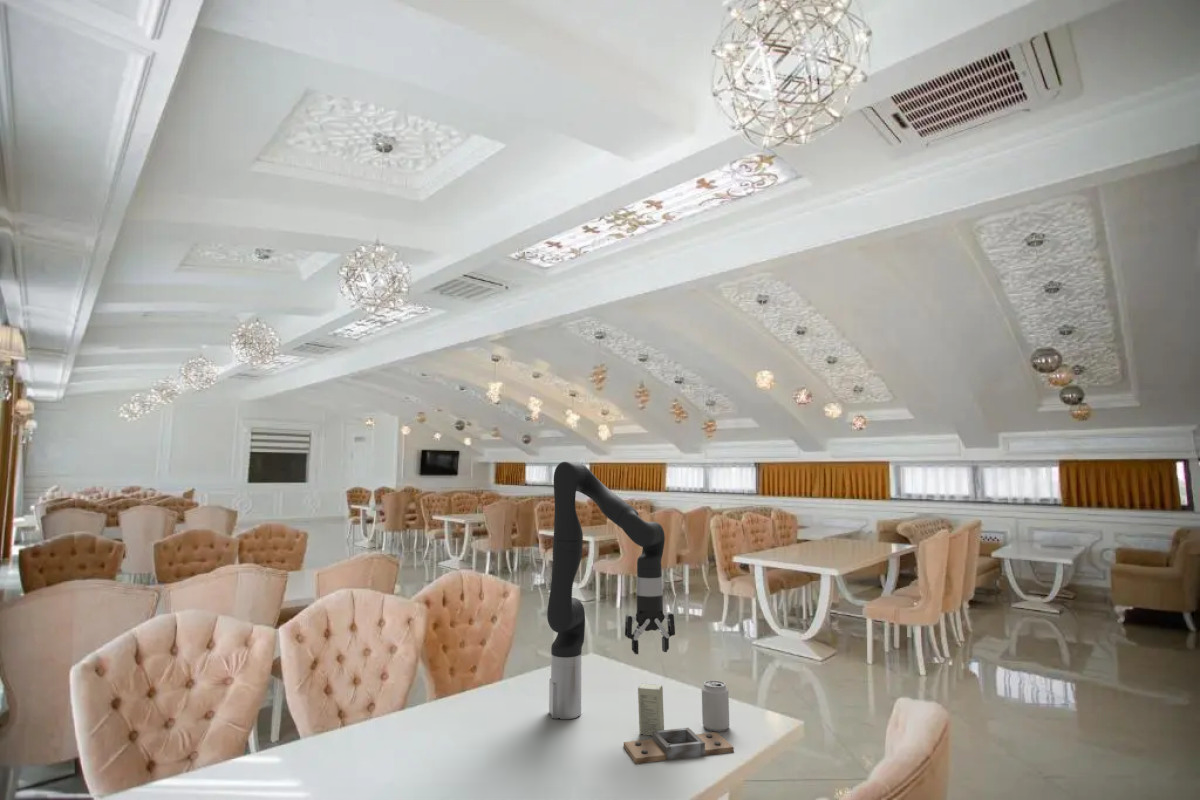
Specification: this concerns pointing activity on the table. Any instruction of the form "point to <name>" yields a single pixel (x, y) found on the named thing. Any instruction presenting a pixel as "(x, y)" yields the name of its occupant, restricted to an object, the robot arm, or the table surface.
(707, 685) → the can
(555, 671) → the robot arm
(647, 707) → the skincare box
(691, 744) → the mounting bracket
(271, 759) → the table surface
